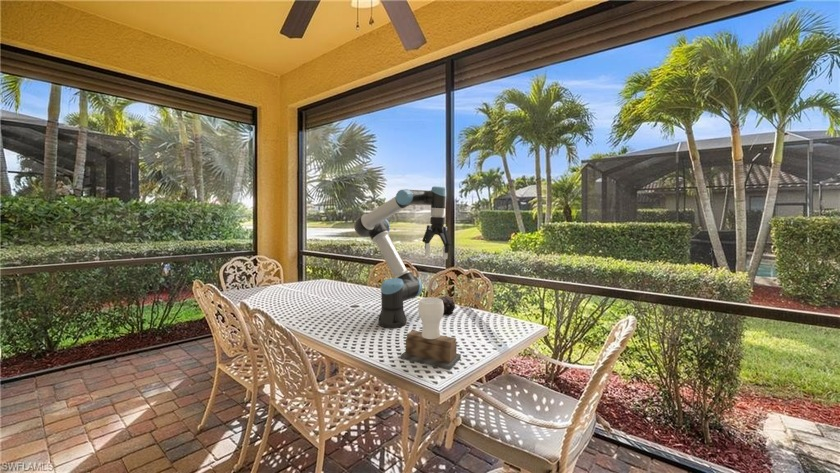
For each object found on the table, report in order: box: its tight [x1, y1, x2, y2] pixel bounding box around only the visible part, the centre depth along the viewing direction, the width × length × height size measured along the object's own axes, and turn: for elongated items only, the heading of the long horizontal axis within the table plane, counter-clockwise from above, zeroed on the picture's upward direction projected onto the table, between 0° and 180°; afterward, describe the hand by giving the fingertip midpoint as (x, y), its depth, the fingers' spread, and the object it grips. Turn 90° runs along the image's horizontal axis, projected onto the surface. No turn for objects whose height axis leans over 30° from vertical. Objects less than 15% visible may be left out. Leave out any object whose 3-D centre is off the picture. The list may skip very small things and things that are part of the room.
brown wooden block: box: [400, 329, 462, 371], centre depth 145 cm, size 22×12×10 cm, turn 64°
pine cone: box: [438, 296, 456, 316], centre depth 205 cm, size 10×18×10 cm, turn 92°
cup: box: [417, 296, 444, 339], centre depth 144 cm, size 11×11×15 cm
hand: (435, 257), depth 182 cm, fingers open, 13 cm apart
